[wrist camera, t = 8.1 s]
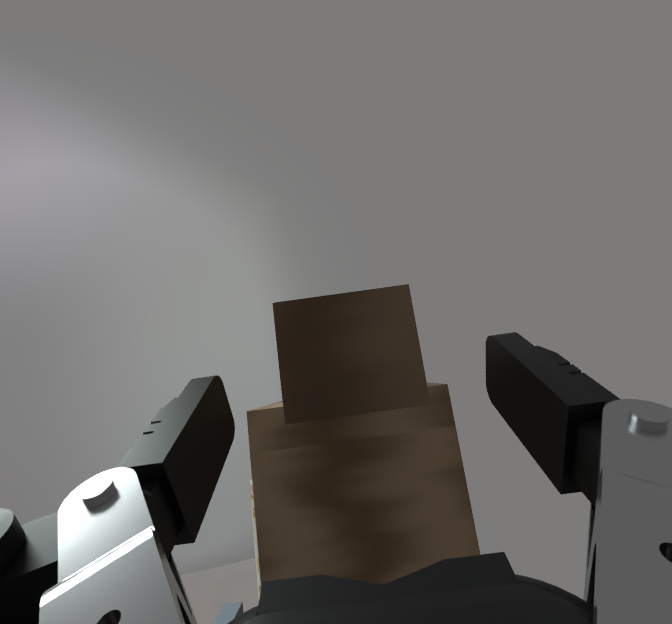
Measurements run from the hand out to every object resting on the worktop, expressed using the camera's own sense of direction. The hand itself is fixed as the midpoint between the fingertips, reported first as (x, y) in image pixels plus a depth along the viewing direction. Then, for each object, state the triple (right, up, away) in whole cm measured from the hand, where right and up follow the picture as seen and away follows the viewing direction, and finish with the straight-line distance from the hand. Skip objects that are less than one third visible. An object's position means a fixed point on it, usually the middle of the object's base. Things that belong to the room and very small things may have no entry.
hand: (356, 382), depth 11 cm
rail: (0, -3, +10) cm, 10 cm away
